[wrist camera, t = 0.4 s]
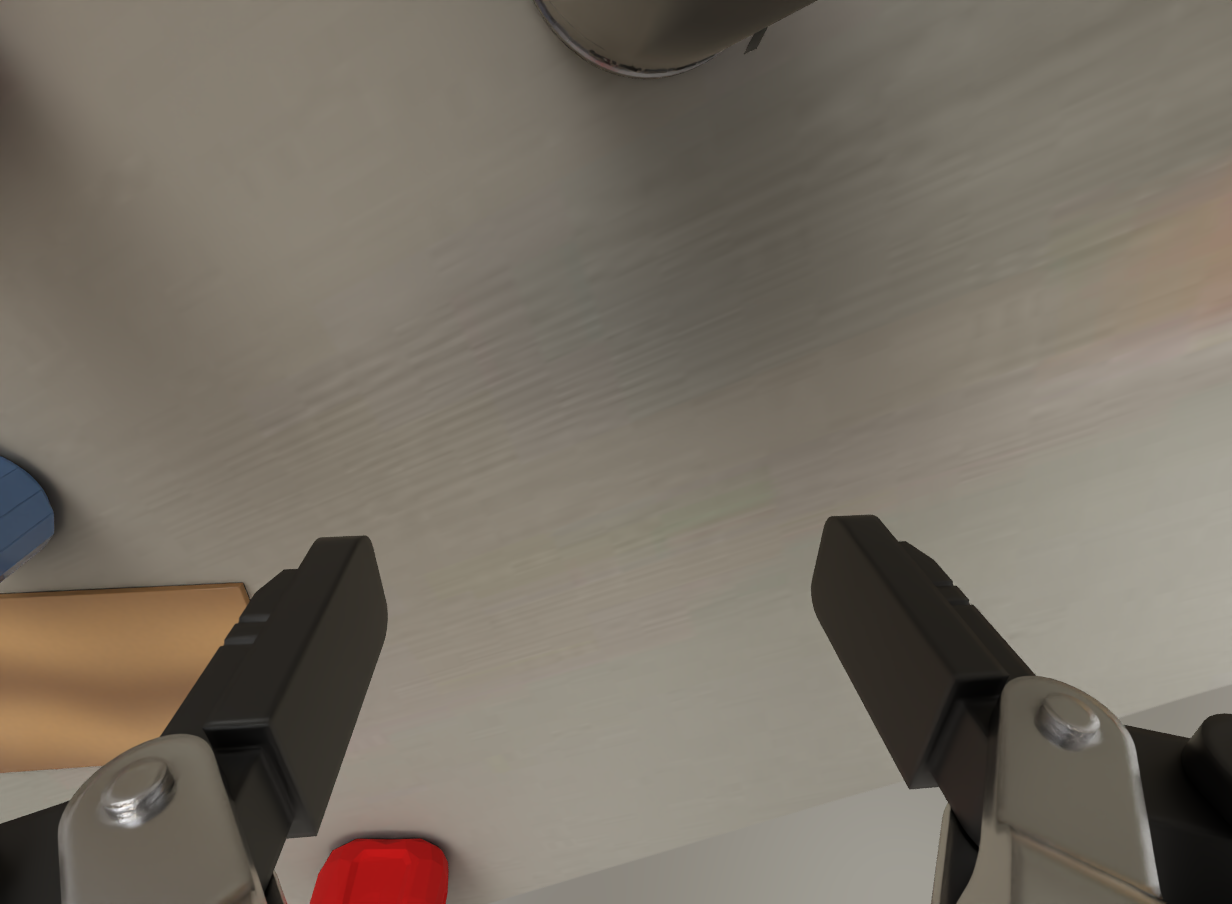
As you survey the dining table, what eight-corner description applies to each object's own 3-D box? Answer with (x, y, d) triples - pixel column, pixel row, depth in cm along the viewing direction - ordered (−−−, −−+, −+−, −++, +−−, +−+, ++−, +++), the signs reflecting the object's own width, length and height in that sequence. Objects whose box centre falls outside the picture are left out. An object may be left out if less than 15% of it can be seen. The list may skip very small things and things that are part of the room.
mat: (-167, 601, 30) (-176, 607, 29) (243, 582, 31) (239, 587, 31) (-25, 769, 36) (-31, 775, 36) (306, 746, 38) (304, 751, 38)
